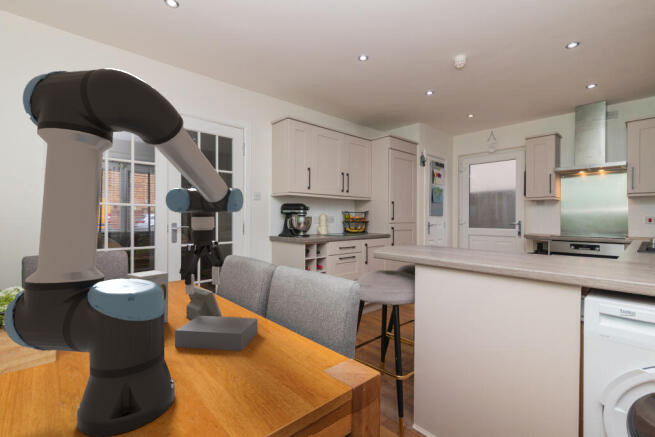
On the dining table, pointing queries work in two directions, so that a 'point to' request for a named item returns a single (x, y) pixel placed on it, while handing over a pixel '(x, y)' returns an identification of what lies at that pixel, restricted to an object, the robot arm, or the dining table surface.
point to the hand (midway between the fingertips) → (203, 288)
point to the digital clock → (202, 304)
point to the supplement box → (155, 277)
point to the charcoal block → (216, 333)
